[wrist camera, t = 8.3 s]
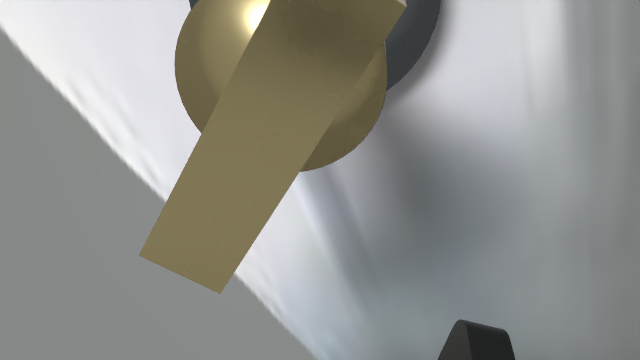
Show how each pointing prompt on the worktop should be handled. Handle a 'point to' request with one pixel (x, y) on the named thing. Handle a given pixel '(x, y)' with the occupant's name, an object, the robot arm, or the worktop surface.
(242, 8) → the door handle
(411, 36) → the round metal flange
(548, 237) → the worktop surface
